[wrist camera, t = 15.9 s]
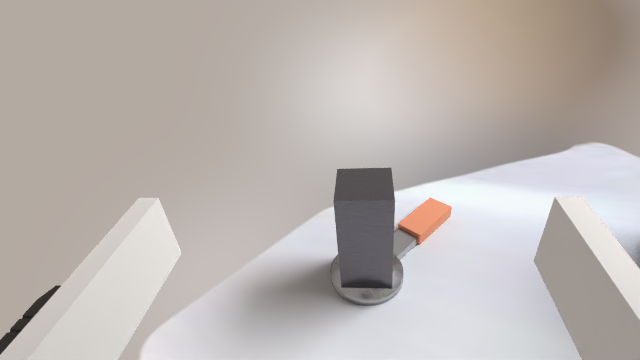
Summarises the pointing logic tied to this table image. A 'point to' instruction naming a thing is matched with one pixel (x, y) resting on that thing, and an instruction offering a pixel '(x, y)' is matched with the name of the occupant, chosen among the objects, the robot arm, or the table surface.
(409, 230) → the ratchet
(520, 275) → the table surface
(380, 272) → the dark grey block
